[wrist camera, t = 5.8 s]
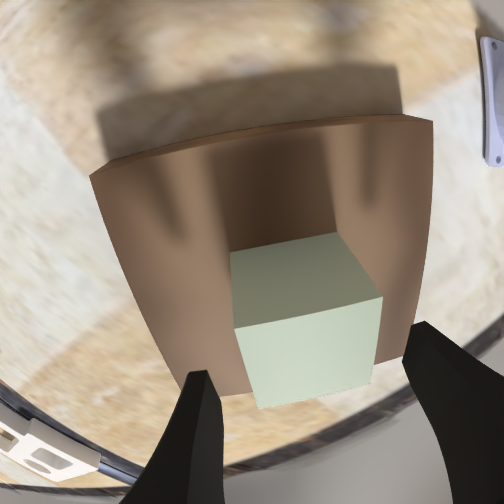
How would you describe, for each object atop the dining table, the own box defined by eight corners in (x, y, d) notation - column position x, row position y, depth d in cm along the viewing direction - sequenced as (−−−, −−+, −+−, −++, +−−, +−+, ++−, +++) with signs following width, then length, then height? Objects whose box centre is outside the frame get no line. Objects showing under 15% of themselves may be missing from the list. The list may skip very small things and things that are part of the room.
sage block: (336, 231, 13) (383, 296, 9) (338, 313, 15) (370, 383, 11) (229, 252, 13) (234, 329, 9) (248, 331, 15) (258, 409, 11)
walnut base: (403, 114, 13) (432, 121, 10) (390, 330, 19) (405, 355, 17) (109, 161, 13) (89, 175, 10) (188, 370, 20) (186, 400, 17)
